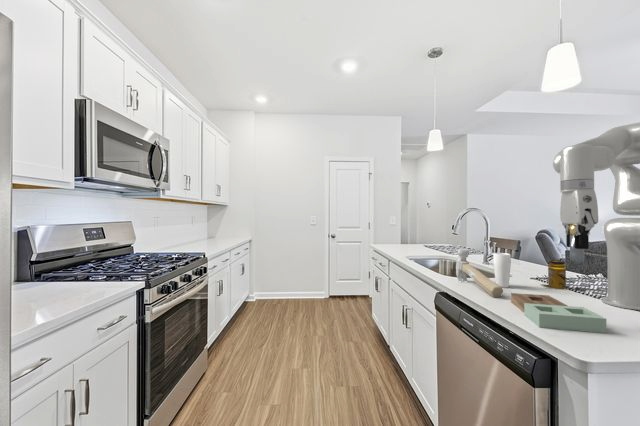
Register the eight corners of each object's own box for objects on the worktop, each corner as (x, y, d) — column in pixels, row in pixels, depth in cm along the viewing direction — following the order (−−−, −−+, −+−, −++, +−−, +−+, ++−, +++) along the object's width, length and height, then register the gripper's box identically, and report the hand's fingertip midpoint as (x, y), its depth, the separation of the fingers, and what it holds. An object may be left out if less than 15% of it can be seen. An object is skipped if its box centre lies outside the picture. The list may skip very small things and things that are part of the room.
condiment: (570, 290, 121) (569, 262, 121) (546, 288, 124) (545, 261, 124) (562, 286, 128) (562, 260, 128) (539, 284, 131) (539, 259, 131)
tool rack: (583, 319, 87) (583, 307, 87) (606, 333, 78) (606, 318, 78) (524, 315, 92) (524, 303, 92) (539, 327, 82) (539, 313, 82)
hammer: (506, 274, 109) (466, 248, 138) (494, 274, 109) (456, 248, 138) (500, 310, 112) (462, 277, 142) (489, 310, 112) (453, 277, 142)
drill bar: (580, 264, 85) (579, 224, 85) (587, 265, 82) (586, 225, 82) (567, 263, 86) (567, 224, 86) (573, 265, 83) (573, 224, 83)
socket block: (548, 304, 102) (548, 295, 102) (568, 316, 90) (568, 305, 90) (511, 302, 105) (511, 293, 105) (525, 313, 93) (525, 302, 93)
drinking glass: (495, 287, 126) (494, 254, 126) (492, 284, 132) (491, 252, 132) (512, 289, 123) (512, 255, 123) (509, 285, 130) (508, 253, 130)
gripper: (612, 183, 75) (613, 252, 75) (575, 188, 91) (575, 245, 91) (578, 184, 77) (579, 251, 77) (547, 189, 93) (548, 244, 93)
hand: (577, 247), depth 84 cm, fingers closed on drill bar, 3 cm apart
